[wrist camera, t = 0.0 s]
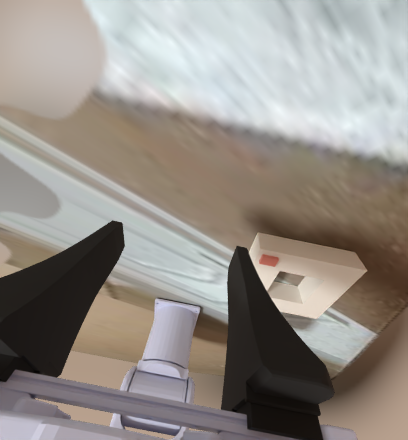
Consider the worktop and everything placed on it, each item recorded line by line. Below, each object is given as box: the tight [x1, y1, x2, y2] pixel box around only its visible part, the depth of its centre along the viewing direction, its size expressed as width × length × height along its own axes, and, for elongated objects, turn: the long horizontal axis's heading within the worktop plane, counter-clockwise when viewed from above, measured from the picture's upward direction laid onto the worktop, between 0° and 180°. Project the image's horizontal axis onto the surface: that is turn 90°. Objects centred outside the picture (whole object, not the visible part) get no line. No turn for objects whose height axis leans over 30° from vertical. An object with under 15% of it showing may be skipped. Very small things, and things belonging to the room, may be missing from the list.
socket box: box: [249, 232, 367, 319], centre depth 26 cm, size 11×12×3 cm
